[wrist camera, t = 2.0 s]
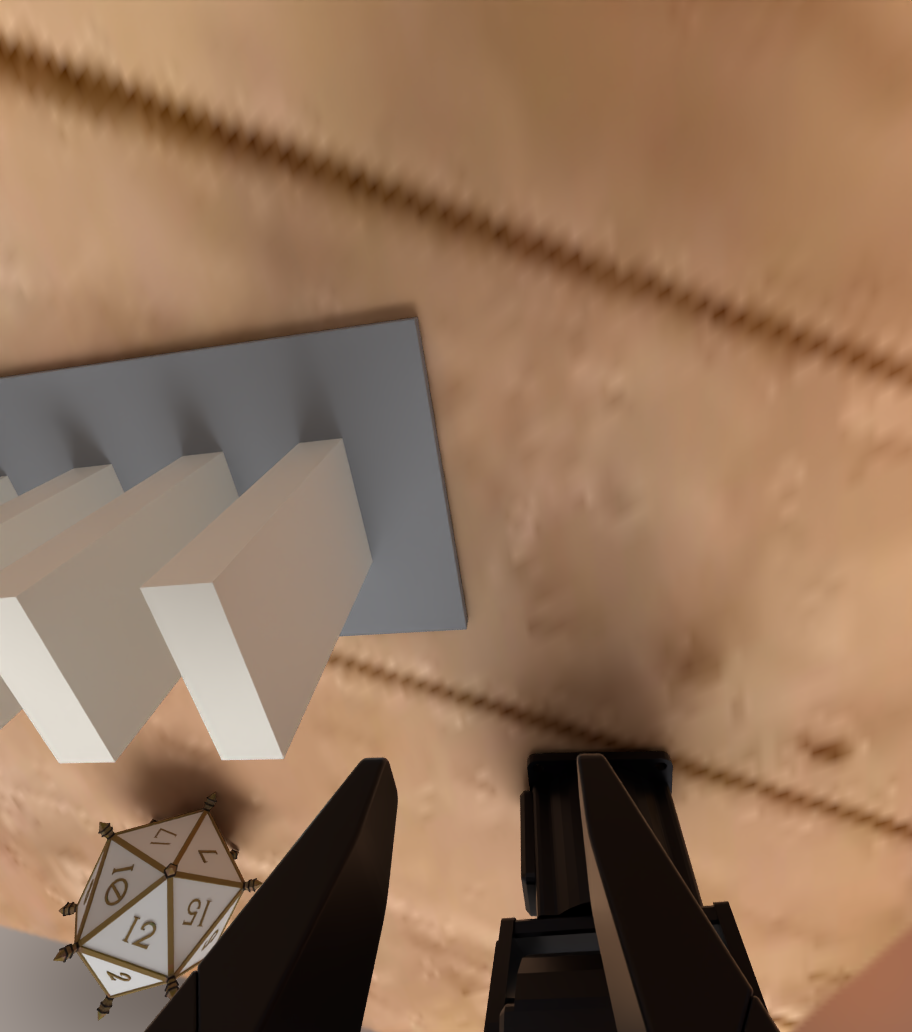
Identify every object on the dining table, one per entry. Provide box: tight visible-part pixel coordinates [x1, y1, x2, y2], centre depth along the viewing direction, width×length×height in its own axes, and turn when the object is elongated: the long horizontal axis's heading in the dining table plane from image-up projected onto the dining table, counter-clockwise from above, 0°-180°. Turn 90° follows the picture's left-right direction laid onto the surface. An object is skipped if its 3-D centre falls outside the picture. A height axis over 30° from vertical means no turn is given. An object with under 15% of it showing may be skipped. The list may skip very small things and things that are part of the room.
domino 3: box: [140, 438, 373, 760], centre depth 16 cm, size 2×5×9 cm, turn 9°
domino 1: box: [0, 464, 124, 729], centre depth 17 cm, size 2×5×9 cm, turn 8°
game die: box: [54, 792, 263, 1020], centre depth 27 cm, size 9×8×10 cm
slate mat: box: [0, 317, 468, 636], centre depth 21 cm, size 26×12×1 cm, turn 98°
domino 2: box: [0, 452, 239, 763], centre depth 16 cm, size 2×5×9 cm, turn 8°
